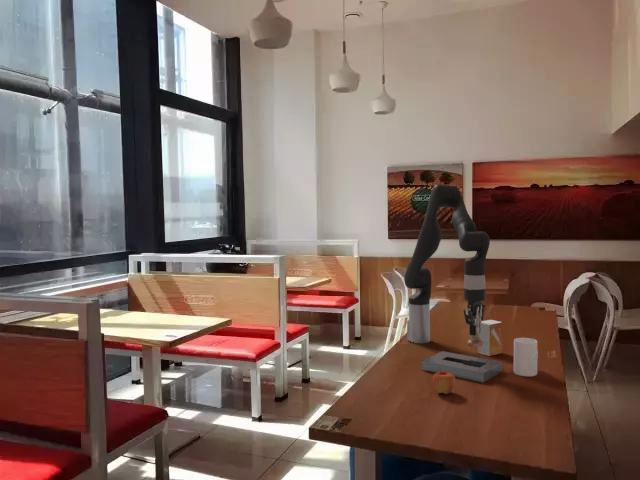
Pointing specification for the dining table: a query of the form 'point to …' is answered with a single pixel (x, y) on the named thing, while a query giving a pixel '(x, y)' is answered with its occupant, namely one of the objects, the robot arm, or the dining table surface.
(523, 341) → the mug
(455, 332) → the dining table surface
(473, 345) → the stud
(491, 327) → the small box
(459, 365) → the keyhole plate
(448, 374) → the apple
